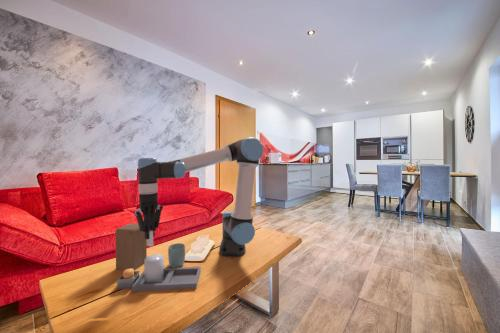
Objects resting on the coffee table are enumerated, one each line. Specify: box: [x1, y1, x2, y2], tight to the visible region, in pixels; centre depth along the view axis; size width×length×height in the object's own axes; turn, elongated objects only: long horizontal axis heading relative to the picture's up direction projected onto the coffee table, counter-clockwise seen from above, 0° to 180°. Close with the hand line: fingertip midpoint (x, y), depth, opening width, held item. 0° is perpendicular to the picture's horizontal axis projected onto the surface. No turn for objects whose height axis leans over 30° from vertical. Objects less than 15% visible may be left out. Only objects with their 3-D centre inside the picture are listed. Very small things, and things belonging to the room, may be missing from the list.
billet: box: [143, 253, 165, 284], centre depth 91 cm, size 8×8×10 cm
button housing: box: [116, 270, 140, 290], centre depth 88 cm, size 6×6×4 cm
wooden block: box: [115, 222, 148, 271], centre depth 104 cm, size 10×10×20 cm
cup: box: [167, 243, 186, 268], centre depth 105 cm, size 8×8×10 cm
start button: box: [122, 268, 135, 278], centre depth 88 cm, size 4×4×4 cm
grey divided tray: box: [131, 266, 202, 293], centre depth 91 cm, size 25×14×3 cm, turn 96°
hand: (150, 245), depth 94 cm, fingers closed
